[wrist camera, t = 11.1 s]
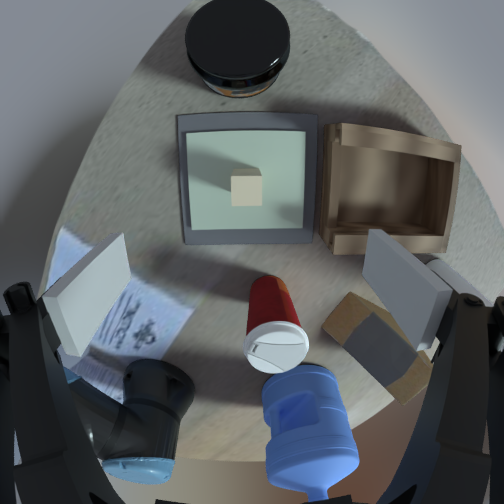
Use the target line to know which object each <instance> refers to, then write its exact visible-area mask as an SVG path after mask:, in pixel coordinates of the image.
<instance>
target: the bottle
mask: <svg viewBox="0 0 504 504" xmlns="http://www.w3.org/2000/svg"><path fill="white" fill-rule="evenodd" d="M426 266H427V267H428V268H429V269H431V270H433V271H435V272H436V273H437V274H438V275H439V276H440V277H441V278H443V279H444V280H445V282H447V283H448V284H449V285H450V286H451V287H452V288H454V289H455V290H456V291H457V292H458V293H459V294H461V293H469V294H473V295H475V296H477V297H479V298H480V299H481V300H482V301H483V302H484V304H485V306H488V307H493V306H494V304H493V303H492V302H491V301H490V300H488V299H487V298H486V297H485V296H484V295H483V294H482V293H481V292H480V291H479V290H477V289H476V288H475V287H474V286H473V285H472V284H471V283H469V282H468V281H467V280H466V279H465V278H464V277H462V276H461V275H460V274H459V273H458V272H456V271H455V270H454V269H453V268H452V267H451V266H450V265H449V264H447V263H445V262H444V261H442V260H440V259H434V260H432V261H430V262H428V263H427V264H426ZM503 348H504V344H503V346H502V348H501V352H502V350H503Z"/></svg>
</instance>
